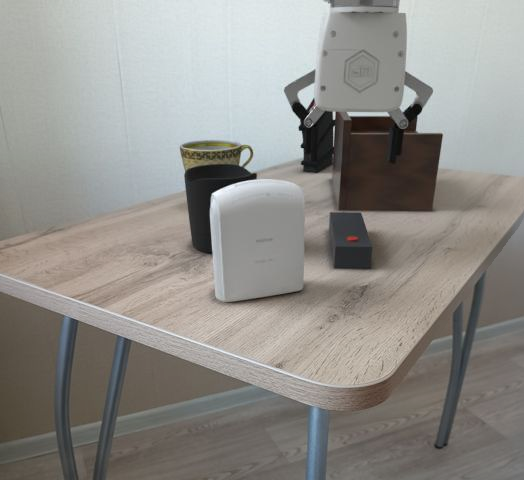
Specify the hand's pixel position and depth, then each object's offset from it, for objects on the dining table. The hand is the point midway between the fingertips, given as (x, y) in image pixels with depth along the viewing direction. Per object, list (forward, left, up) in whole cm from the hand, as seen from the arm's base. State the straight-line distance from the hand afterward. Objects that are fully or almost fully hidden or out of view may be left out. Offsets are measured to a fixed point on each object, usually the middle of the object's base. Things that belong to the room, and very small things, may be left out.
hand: (351, 161), depth 69 cm
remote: (0, 0, -12) cm, 12 cm away
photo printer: (+11, +15, -12) cm, 22 cm away
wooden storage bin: (-8, -30, -12) cm, 33 cm away
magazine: (+3, -52, -12) cm, 54 cm away
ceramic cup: (+20, -22, -12) cm, 32 cm away
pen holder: (+17, -1, -12) cm, 20 cm away
